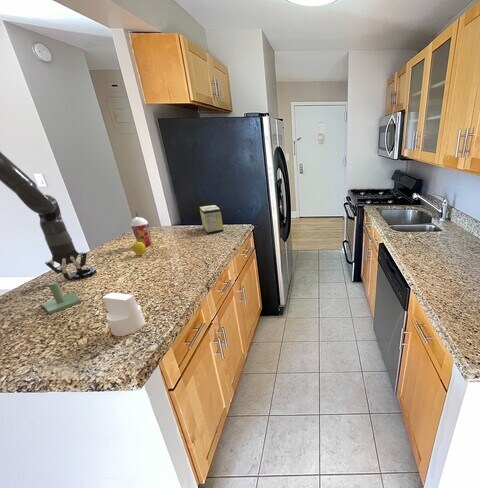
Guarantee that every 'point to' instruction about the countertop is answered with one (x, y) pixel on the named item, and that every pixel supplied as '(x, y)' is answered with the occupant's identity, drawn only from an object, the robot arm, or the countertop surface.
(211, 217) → the protein box
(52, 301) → the post
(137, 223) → the smoothie
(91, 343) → the countertop surface
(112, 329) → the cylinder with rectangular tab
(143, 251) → the lemon
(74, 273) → the ring
